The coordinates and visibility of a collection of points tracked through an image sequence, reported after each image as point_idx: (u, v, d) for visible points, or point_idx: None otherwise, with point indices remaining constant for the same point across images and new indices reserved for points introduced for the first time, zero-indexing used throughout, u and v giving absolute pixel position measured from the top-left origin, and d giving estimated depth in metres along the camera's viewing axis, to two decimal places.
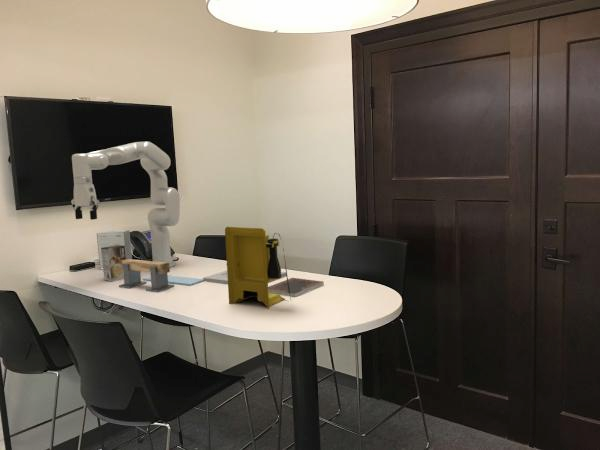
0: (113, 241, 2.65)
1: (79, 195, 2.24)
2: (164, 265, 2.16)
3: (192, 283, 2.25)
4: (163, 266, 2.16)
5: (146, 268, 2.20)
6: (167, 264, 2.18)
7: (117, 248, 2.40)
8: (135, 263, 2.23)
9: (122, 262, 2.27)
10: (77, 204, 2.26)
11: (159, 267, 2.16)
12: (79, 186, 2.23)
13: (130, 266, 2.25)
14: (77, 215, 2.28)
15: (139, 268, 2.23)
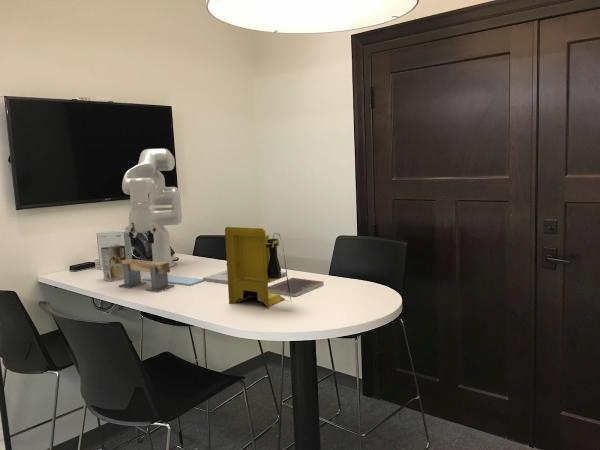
0: (113, 241, 2.65)
1: (144, 220, 2.19)
2: (164, 265, 2.16)
3: (192, 283, 2.25)
4: (163, 266, 2.16)
5: (146, 268, 2.20)
6: (167, 264, 2.18)
7: (117, 248, 2.40)
8: (135, 263, 2.23)
9: (122, 262, 2.27)
10: (140, 230, 2.18)
11: (159, 267, 2.16)
12: (145, 211, 2.19)
13: (130, 266, 2.25)
14: None
15: (139, 268, 2.23)
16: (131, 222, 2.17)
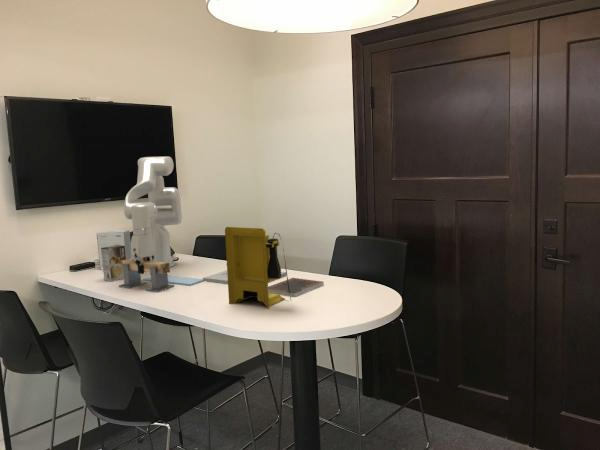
0: (113, 241, 2.65)
1: (146, 246, 2.21)
2: (164, 265, 2.16)
3: (192, 283, 2.25)
4: (163, 266, 2.16)
5: (146, 268, 2.20)
6: (167, 264, 2.18)
7: (117, 248, 2.40)
8: (135, 263, 2.23)
9: (122, 262, 2.27)
10: (142, 256, 2.20)
11: (159, 267, 2.16)
12: (147, 236, 2.21)
13: (130, 266, 2.25)
14: None
15: None
16: (133, 248, 2.18)
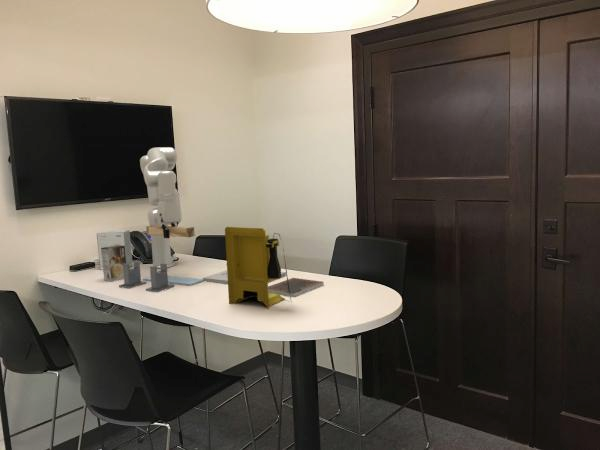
0: (113, 241, 2.65)
1: (172, 211, 2.30)
2: (189, 229, 2.25)
3: (192, 283, 2.25)
4: (188, 230, 2.25)
5: (171, 233, 2.29)
6: (192, 228, 2.27)
7: (117, 248, 2.40)
8: (161, 228, 2.32)
9: (148, 228, 2.36)
10: (168, 221, 2.29)
11: (184, 230, 2.25)
12: (172, 202, 2.30)
13: (156, 231, 2.34)
14: None
15: None
16: (159, 213, 2.27)
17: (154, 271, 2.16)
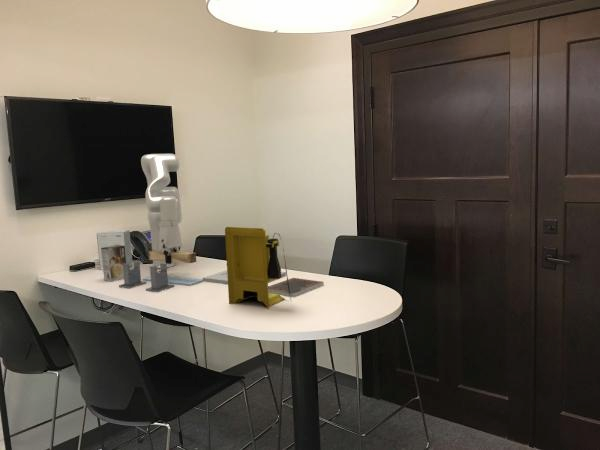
0: (113, 241, 2.65)
1: (174, 237, 2.31)
2: (191, 255, 2.26)
3: (192, 283, 2.25)
4: (190, 256, 2.26)
5: (173, 258, 2.31)
6: (194, 254, 2.28)
7: (117, 248, 2.40)
8: (163, 254, 2.33)
9: (150, 253, 2.38)
10: (170, 246, 2.30)
11: (186, 256, 2.26)
12: (174, 228, 2.31)
13: (158, 257, 2.35)
14: None
15: None
16: (161, 239, 2.29)
17: (154, 271, 2.16)
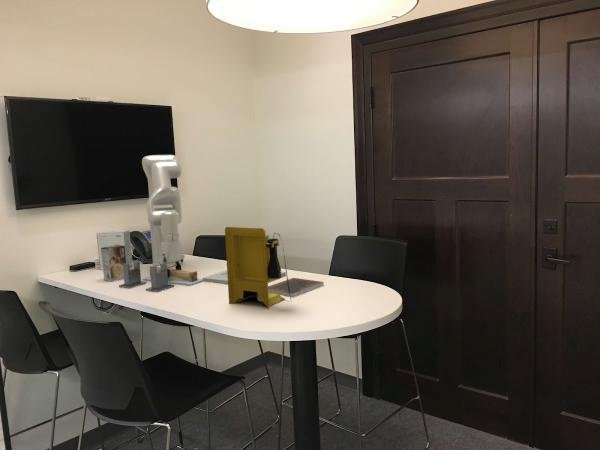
0: (113, 241, 2.65)
1: (175, 251, 2.32)
2: (192, 273, 2.28)
3: (192, 283, 2.25)
4: (191, 275, 2.27)
5: (174, 276, 2.32)
6: (195, 273, 2.29)
7: (117, 248, 2.40)
8: None
9: None
10: (171, 261, 2.31)
11: (187, 275, 2.28)
12: (175, 242, 2.32)
13: None
14: None
15: None
16: (162, 253, 2.29)
17: (154, 271, 2.16)
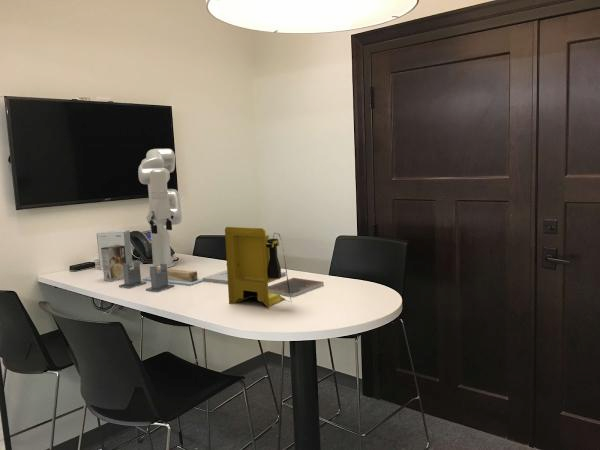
0: (113, 241, 2.65)
1: (164, 209, 2.34)
2: (192, 273, 2.28)
3: (192, 283, 2.25)
4: (191, 275, 2.27)
5: (174, 276, 2.32)
6: (195, 273, 2.29)
7: (117, 248, 2.40)
8: None
9: None
10: (160, 218, 2.33)
11: (187, 275, 2.28)
12: (164, 200, 2.34)
13: None
14: None
15: (168, 276, 2.34)
16: (151, 211, 2.31)
17: (154, 271, 2.16)
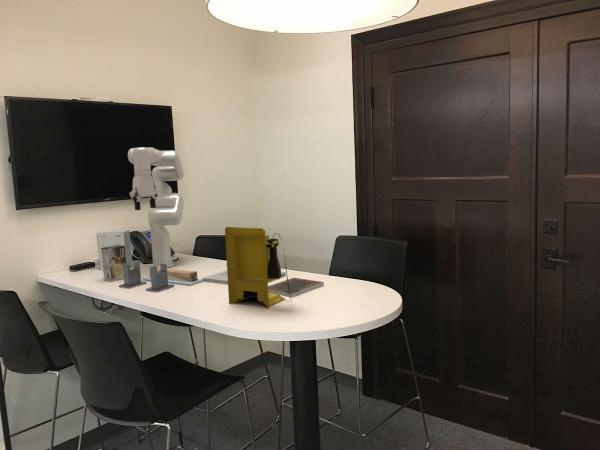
0: (113, 241, 2.65)
1: (147, 186, 2.40)
2: (192, 273, 2.28)
3: (192, 283, 2.25)
4: (191, 275, 2.27)
5: (174, 276, 2.32)
6: (195, 273, 2.29)
7: (117, 248, 2.40)
8: None
9: None
10: (143, 195, 2.39)
11: (187, 275, 2.28)
12: (147, 177, 2.40)
13: None
14: None
15: (168, 276, 2.34)
16: (135, 187, 2.37)
17: (154, 271, 2.16)
